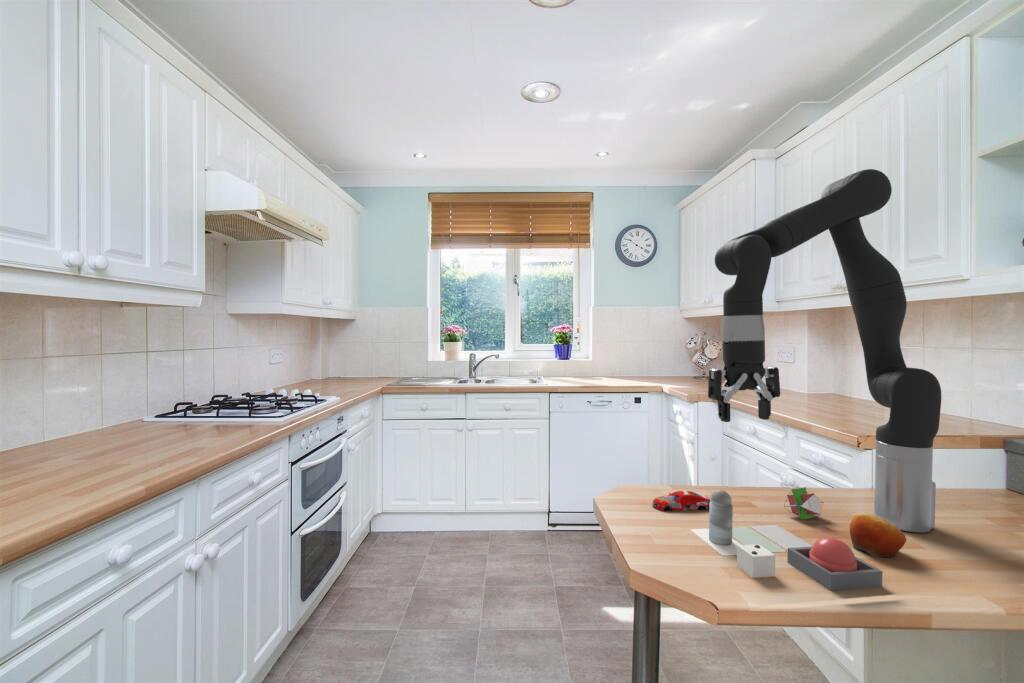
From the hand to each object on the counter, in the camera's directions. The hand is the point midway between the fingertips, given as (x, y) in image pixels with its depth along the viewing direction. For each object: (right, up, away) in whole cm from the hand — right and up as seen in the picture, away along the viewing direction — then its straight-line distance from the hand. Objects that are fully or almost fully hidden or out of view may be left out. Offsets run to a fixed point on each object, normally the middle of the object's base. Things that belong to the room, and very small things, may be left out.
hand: (744, 420), depth 92 cm
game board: (-1, -23, -4) cm, 23 cm away
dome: (+6, -23, -16) cm, 29 cm away
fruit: (+20, -23, -8) cm, 32 cm away
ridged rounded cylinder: (-7, -22, -5) cm, 24 cm away
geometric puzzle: (+17, -23, +8) cm, 30 cm away
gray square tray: (+6, -23, -16) cm, 29 cm away
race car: (-8, -23, +13) cm, 28 cm away
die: (-6, -23, -16) cm, 28 cm away
